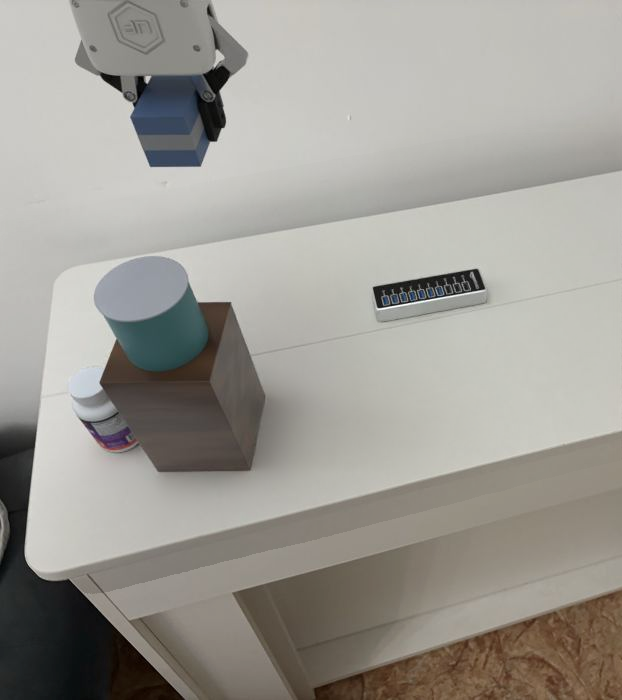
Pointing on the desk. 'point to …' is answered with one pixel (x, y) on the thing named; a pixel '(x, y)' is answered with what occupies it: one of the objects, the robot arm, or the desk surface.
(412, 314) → the multiport hub
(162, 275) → the yogurt pot
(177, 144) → the block
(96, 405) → the pill bottle
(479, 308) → the desk surface
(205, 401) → the walnut crate
